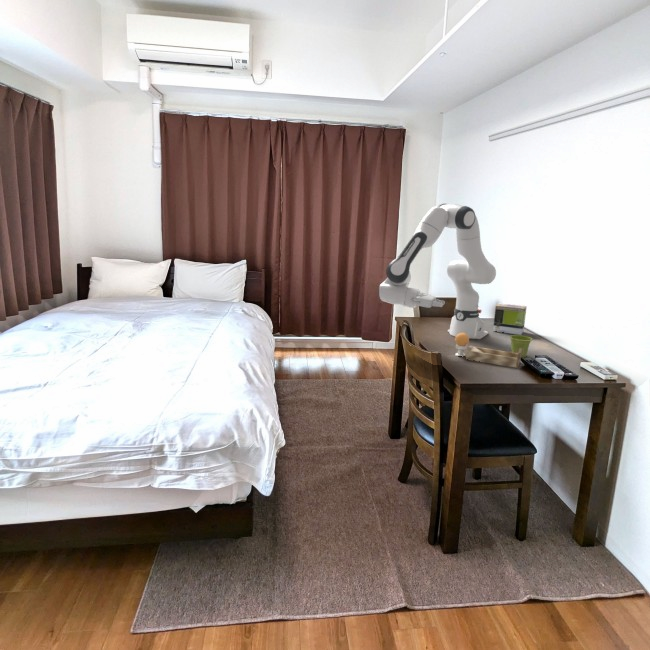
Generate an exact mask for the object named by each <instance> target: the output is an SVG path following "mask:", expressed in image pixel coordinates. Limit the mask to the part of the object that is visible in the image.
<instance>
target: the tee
mask: <svg viewBox="0 0 650 650" xmlns="http://www.w3.org/2000/svg"><path fill="white" fill-rule="evenodd" d="M467 347H468V344H467V345H465V346H459V345H457V344H456V345H455V349H458V350H457V352H456V353H455V357H458V356H462V357H461V358H464V357H463V356H465V357H466V354H465V353H464V351H465V350H467V349H468V348H467Z"/></svg>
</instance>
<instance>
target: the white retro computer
mask: <svg viewBox="0 0 650 650" xmlns="http://www.w3.org/2000/svg"><path fill="white" fill-rule="evenodd" d="M526 313H527V306H526V305H520V304H519V305H518V304H511V303H502V302H498V303H497V304H496V305H495V311H494V319H493V326H492V327H493V329H492V332H495V331H497V332H498V333H502V332H504V334H511V335H522V334H523V333H524V329H525V321H526ZM497 332H496V333H497ZM522 336H523V335H522Z"/></svg>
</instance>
